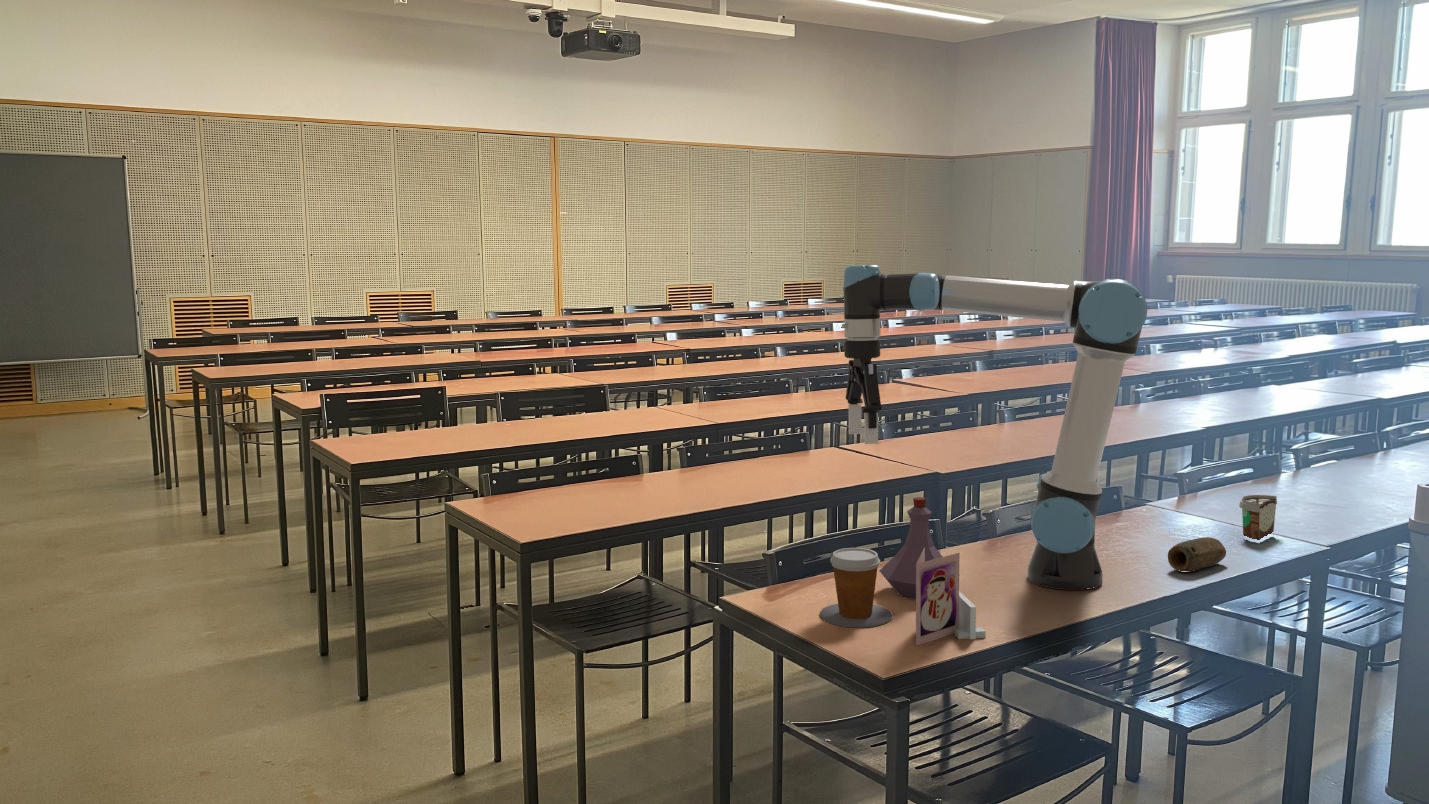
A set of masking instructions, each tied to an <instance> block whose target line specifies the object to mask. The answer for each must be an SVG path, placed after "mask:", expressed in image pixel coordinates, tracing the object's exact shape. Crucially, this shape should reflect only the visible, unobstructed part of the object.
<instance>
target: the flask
mask: <svg viewBox="0 0 1429 804" xmlns="http://www.w3.org/2000/svg"><path fill="white" fill-rule="evenodd" d="M912 501H913V506H912V507H911V508H909V509H908V510H906V512H907V515H908V517H909V519H910V520H909V528H908V532H907V535H906V538H905V542H904V544H903V545H902V547H901V548H900V549H899V550H898V551H897V552H896V554H895V555H894V556H893V557H892V558H890V560H889V561H888V562H887V563H885V565H883V567H881V568H880V569H879V572H880V574H881V575H882V576H883V577H884V578H885V580H886V581H887V582H888V583H889V584H890V586H891V587H892V588H893V590H894V591H895V592H896V593H897V594H898V595H899V596H900V597H901V598H906V599H910V600H915V601H916V563H917V561H918V559H919V557H920V555H921V553H922V551H923V549H924V547H925V562H926V561H929V560H933V559H937V558H941V557H944V556H943V555H942V554H941V552H940V551H939V550H938V549H937V548H936V546H935V545H934V540H933V537H932V533H931V530H930V522H929V520H930V517H931V516H932V514H933V511H931V510H930V509H928V508H927V507H926V502H927V499H926V498H925V497H922V496H921V497H913V499H912ZM960 575H961V574H959V577H960Z"/></svg>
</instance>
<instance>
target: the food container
mask: <svg viewBox="0 0 1429 804" xmlns="http://www.w3.org/2000/svg"><path fill="white" fill-rule="evenodd" d="M1277 497H1278V496H1277V495H1270V494H1269V495H1267V494H1249V495H1244V496H1242V497H1241V499H1240V500H1239V501H1240V502H1239V504H1238V505H1239V506H1238V507H1239V508H1241V515H1242V535H1244V536H1247V537H1249V538H1252V539H1257V540H1260V539H1261V538H1263V537H1264V536H1267V535H1268V534H1271V533H1272V532H1274V530H1275V523H1276V522H1275V521H1276V520H1275V518H1276V510H1277V509H1276V508H1277V507H1276V506H1277V504H1278V498H1277ZM1274 533H1275V532H1274Z"/></svg>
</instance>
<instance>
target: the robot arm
mask: <svg viewBox="0 0 1429 804" xmlns="http://www.w3.org/2000/svg"><path fill="white" fill-rule="evenodd" d="M843 275H844V276H843V287H842V290H843V308H844V309H843V314H844V315H843V316H844V317H843V319H844V321H843V322H844V323H842V324H841V329H844V338H846V340H845V341H844V343H843V344H844V345H843V346H844V350H843V352H844V353H843V354H844V355H843V356H844V357H845V358H846V359H849V360H848V373H847V383H846V384H847V385H846V392H845V399H846V401H847V404H848V435H862V434H864V435H863V436H864V437H863V438H864V441H863V442H864V445H873V444H877V445H878V444H879V412H880V411H881V410H882V403H881V396H880V395H881V394H880V387H879V381H878V369H877V368H878V366H877V364H876V363H873V361H872V359H877V358H878V359H879V357H880V356H881V341H880V339H878V338H880V337H881V311H918V312H919V311H920V312H921V311H926V310H928V311H929V310H935V311H937V310H938V311H948V312H949V311H950V312H961V313H970V314H979V315H980V314H981V315H991V316H1000V317H1011V318H1019V319H1020V318H1022V319H1033V320H1042V321H1051V322H1052V321H1053V322H1061V323H1062V322H1063V323H1064V324H1065V325H1066V326H1067V327H1068V328H1075V330H1074V335H1073V338H1072V343H1071V344H1072V345H1073V346H1074V348H1075V350H1076V352H1077V354H1078V355H1077V358H1076V362H1075V367H1074V371H1073V375H1072V380H1071V383H1070V389H1069V392H1068V397H1067V402H1066V406H1065V408H1064V409H1065V410H1064V414H1063V419H1062V423H1061V426H1060V427H1061V428H1060V432H1059V436H1058V441H1057V444H1056V449H1055V454H1054V457H1053V462H1052V466H1051V470H1050V471H1048V472H1046V473H1043V474H1040V475H1039V477H1038V480H1037V481H1038V482H1037V484H1036V487H1037V494H1036V495H1037V496H1036V500H1035V504H1034V508H1033V510H1032V513H1031V515H1030V527H1031V531H1032V533H1033V536H1034V538H1035V539H1036V544H1035V547H1034V550H1033V552H1032V556H1031V558H1030V561H1029V564H1028V566H1027V579H1028V580H1029V581H1031V582H1032V583H1033V582H1034V583H1033V584H1036V585H1038V586H1041V587H1046V588H1048V589H1049V588H1050V589H1055V590H1063V591H1082V590H1081V589H1086V590H1088V589H1087V588H1092V589H1094V588H1093V587H1096V588H1098V587H1097V586H1099V585H1100V586H1102V585H1103V577H1104V574H1103V570H1102V565H1101V563H1100V560H1099V557H1098V554H1097V551H1096V547H1095V545H1096V544H1095V539H1096V518H1097V515H1098V510H1099V507H1100V502H1101V499H1102V493H1103V489H1102V487H1101V486H1100V484H1099V483H1098V482H1097V481H1098V476H1099V472H1100V471H1099V470H1100V468H1101V467H1100V466H1101V462H1102V459H1103V454H1104V450H1105V445H1106V441H1107V439H1108V433H1109V429H1110V426H1111V421H1112V417H1113V412H1114V409H1115V405H1116V400H1117V397H1118V394H1119V393H1118V392H1119V387H1120V383H1121V380H1122V375H1123V371H1124V367H1125V363H1126V362H1127V361H1128V360H1130V359H1131V358H1133V357H1135V356H1136V353H1137V349H1138V345H1139V342H1140V336H1141V333H1142V329H1143V325H1145V322H1146V320H1147V315H1148V304H1147V300H1146V297H1145V295H1144V294H1143V293H1142V291H1141V290H1140V288H1139V287H1138V286H1136V284H1133V283H1132V282H1130V281H1128V280H1124V279H1122V278H1120V279H1119V278H1107V279H1103V280H1097V281H1094V280H1093V281H1081V280H1073V281H1072V282H1071V283H1070V284H1058V283H1043V282H1033V281H1020V280H1009V279H1008V280H1007V279H995V278H984V277H981V278H980V277H970V276H957V275H945V274H935V273H928V272H916V273H911V272H910V273H893V274H891V273H890V274H887V273H886V274H885V273H881V269H880V265H877V264H870V265H869V264H868V265H866V264H865V265H863V264H862V265H849V266H847V267H846V268H845V269H844V274H843ZM861 397H863V398H861ZM862 404H864V408H863V409H862ZM862 413H864V415H863V418H864V420H863V421H864V422H863V423H864V425H862ZM862 426H864V427H863V428H862ZM862 429H864V431H863V432H864V433H862ZM1100 586H1099V587H1100Z"/></svg>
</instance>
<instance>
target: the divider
mask: <svg viewBox="0 0 1429 804" xmlns="http://www.w3.org/2000/svg"><path fill="white" fill-rule="evenodd" d="M986 633H987V631H986V630H985V629H984V628H983V627H977V606H976V605H975V604H974V603H973V602H972V601H970V600H969V599H968V598H967V597H966V596H965V595H964V594H963V593H962V591H960V590H959V629H955V633H954V636H955V637H957V639H958V640H962V639H963V640H965V639H966V640H967V639H969V640H976V639H983V638H985V639H986Z"/></svg>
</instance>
